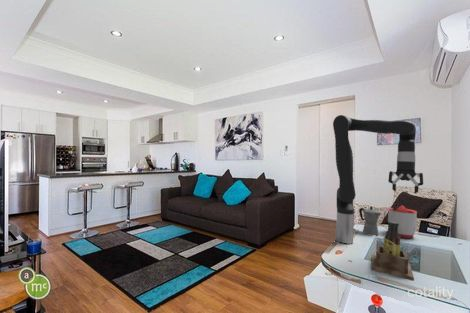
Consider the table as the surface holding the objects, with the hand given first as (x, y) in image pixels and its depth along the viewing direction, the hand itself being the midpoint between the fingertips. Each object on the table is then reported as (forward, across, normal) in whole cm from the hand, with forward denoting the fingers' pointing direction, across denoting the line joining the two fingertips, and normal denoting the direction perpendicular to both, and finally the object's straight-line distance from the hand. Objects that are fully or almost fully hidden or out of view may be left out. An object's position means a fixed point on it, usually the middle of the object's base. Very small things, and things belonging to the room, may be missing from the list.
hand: (405, 192), depth 118 cm
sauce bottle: (+32, -3, -19) cm, 37 cm away
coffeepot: (+33, -22, +31) cm, 50 cm away
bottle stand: (+33, -3, -19) cm, 38 cm away
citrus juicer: (+33, -5, +42) cm, 54 cm away
